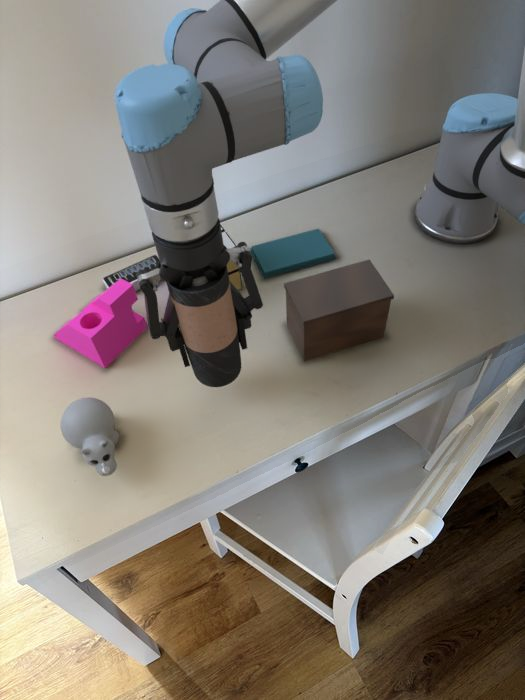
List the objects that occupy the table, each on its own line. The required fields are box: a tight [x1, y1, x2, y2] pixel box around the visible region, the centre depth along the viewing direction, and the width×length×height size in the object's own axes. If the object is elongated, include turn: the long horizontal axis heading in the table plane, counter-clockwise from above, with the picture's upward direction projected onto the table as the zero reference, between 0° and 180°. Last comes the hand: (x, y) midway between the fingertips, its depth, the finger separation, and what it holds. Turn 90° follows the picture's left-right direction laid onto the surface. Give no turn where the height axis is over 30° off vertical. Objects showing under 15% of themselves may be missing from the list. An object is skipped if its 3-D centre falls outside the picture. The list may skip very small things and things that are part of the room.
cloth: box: [249, 228, 336, 279], centre depth 100 cm, size 14×8×1 cm, turn 108°
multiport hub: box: [101, 254, 159, 292], centre depth 98 cm, size 4×11×2 cm, turn 123°
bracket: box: [53, 279, 148, 369], centre depth 87 cm, size 12×10×10 cm
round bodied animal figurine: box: [60, 397, 120, 477], centre depth 74 cm, size 7×12×8 cm, turn 26°
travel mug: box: [165, 265, 242, 388], centre depth 71 cm, size 8×8×20 cm
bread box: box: [283, 258, 395, 362], centre depth 85 cm, size 14×9×10 cm, turn 108°
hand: (213, 350), depth 76 cm, fingers closed on travel mug, 8 cm apart
